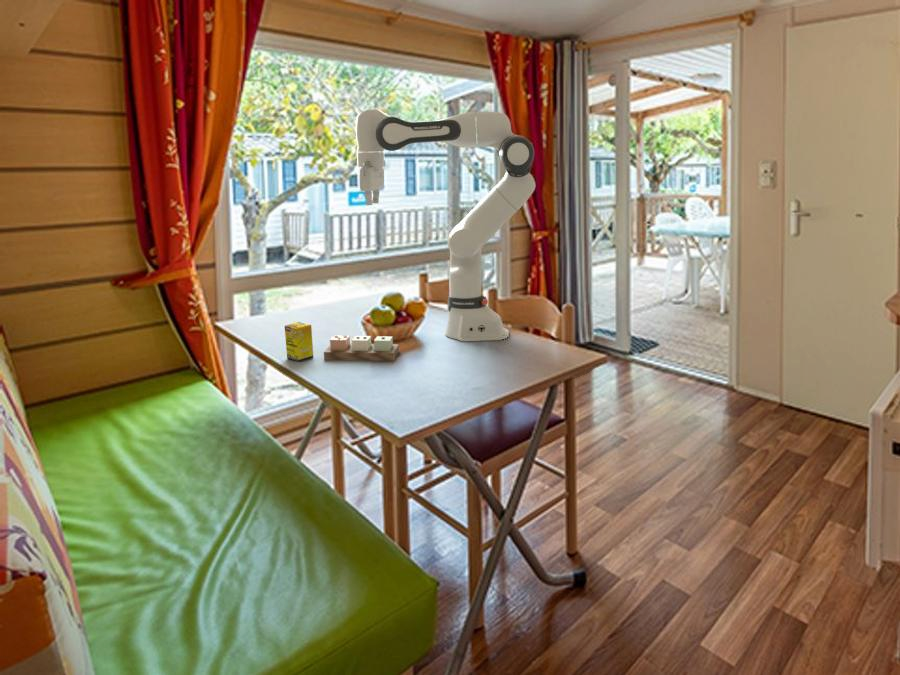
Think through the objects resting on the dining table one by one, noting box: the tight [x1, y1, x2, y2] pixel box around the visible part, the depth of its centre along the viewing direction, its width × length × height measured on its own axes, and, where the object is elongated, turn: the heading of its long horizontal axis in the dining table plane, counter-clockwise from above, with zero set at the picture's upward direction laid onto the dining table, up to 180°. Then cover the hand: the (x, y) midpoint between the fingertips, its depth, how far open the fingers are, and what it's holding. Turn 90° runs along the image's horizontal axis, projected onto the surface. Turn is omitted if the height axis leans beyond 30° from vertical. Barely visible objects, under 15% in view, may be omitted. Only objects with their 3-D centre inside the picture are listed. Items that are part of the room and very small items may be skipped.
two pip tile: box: [351, 335, 372, 351], centre depth 199 cm, size 5×5×4 cm
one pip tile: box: [373, 335, 394, 351], centre depth 198 cm, size 5×5×4 cm
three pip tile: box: [329, 335, 351, 350], centre depth 199 cm, size 5×5×4 cm
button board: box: [323, 342, 400, 362], centre depth 199 cm, size 22×10×2 cm, turn 85°
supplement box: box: [284, 321, 314, 363], centre depth 196 cm, size 6×6×11 cm
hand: (372, 204), depth 210 cm, fingers open, 8 cm apart
